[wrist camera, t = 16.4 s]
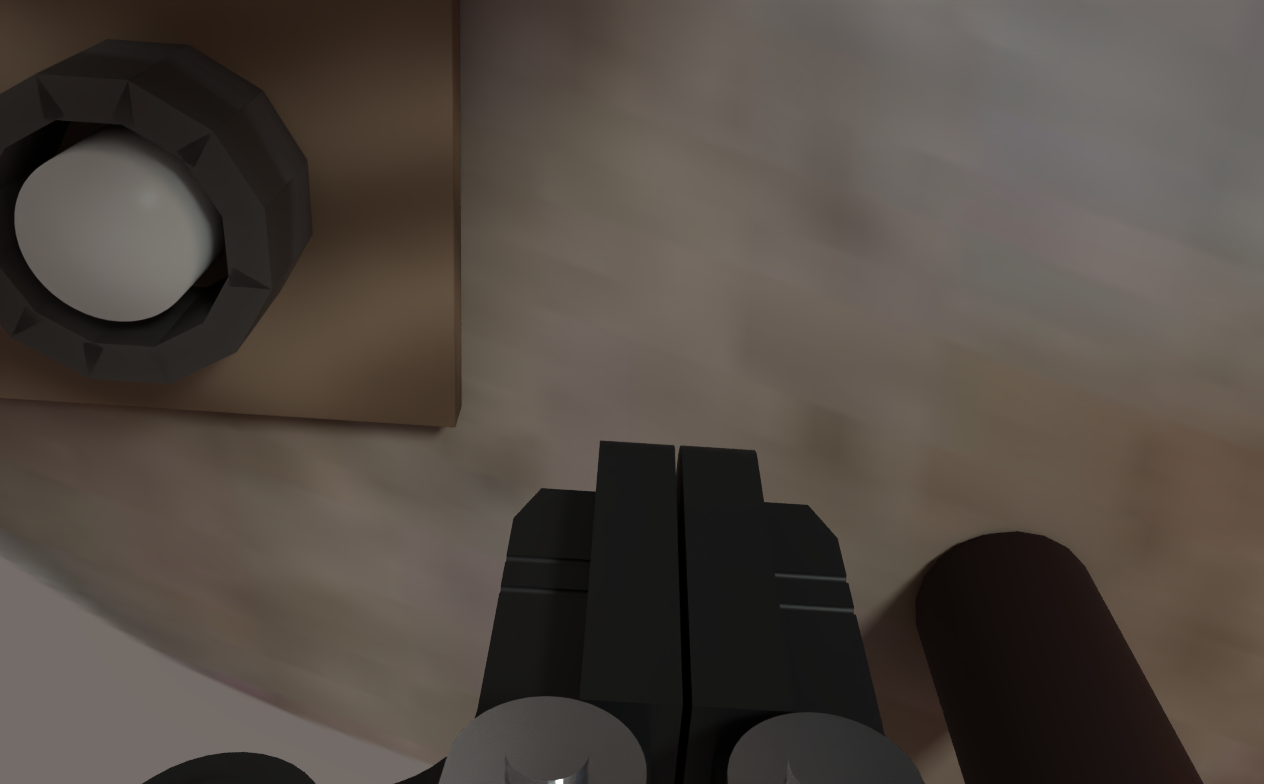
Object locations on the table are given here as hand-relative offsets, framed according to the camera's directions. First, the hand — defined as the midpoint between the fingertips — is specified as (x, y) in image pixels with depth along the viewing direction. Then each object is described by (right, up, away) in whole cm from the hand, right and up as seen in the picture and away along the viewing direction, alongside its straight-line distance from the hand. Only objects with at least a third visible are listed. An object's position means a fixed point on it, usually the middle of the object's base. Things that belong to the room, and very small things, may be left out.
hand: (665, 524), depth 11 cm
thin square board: (-15, +8, +26) cm, 31 cm away
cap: (-15, +8, +25) cm, 30 cm away
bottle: (+14, -7, +34) cm, 37 cm away
